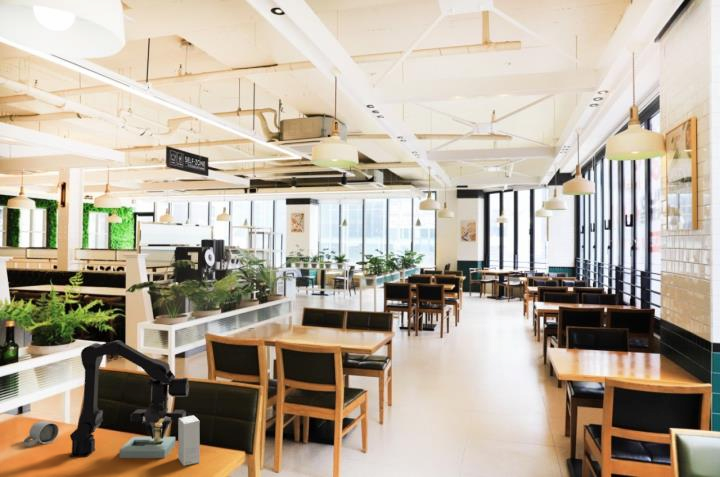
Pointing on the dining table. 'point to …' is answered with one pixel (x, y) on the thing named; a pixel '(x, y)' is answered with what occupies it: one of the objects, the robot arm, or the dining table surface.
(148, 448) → the keyhole plate
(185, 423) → the skincare box
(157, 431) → the brass door knob
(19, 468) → the dining table surface
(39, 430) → the ceramic mug
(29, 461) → the dining table surface
